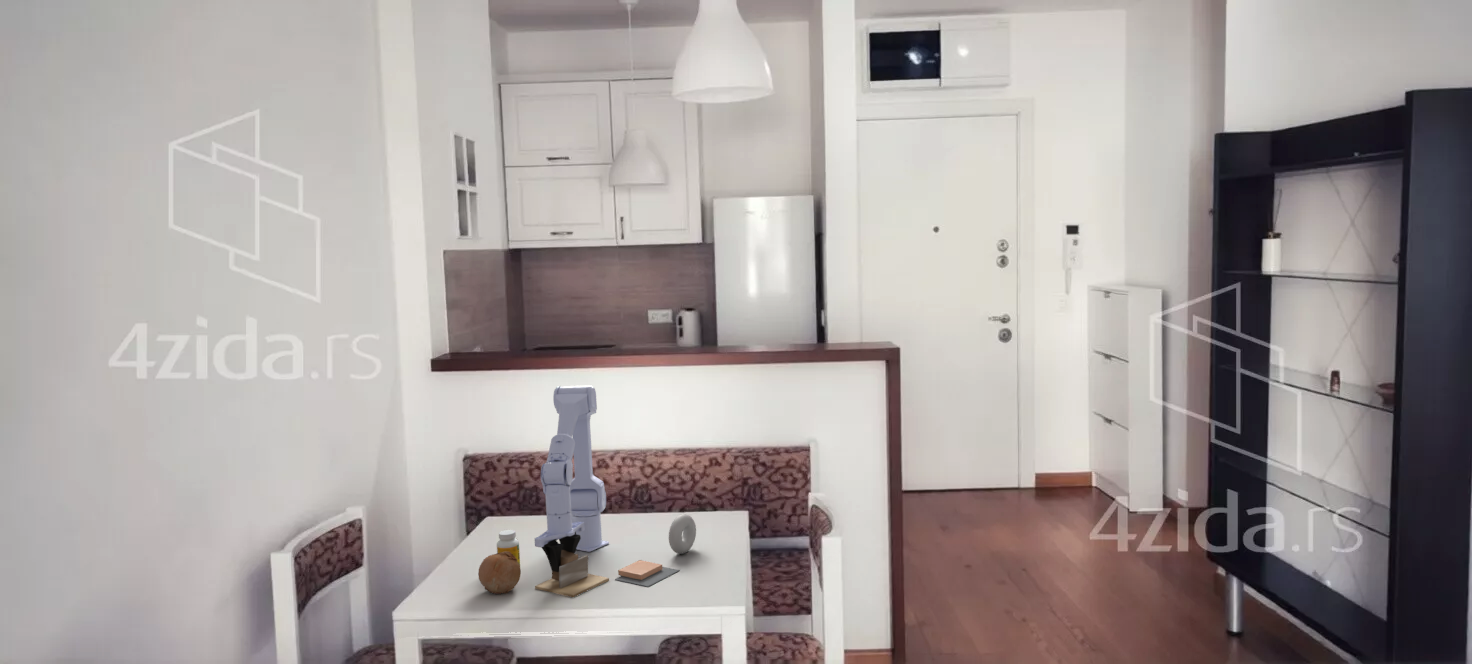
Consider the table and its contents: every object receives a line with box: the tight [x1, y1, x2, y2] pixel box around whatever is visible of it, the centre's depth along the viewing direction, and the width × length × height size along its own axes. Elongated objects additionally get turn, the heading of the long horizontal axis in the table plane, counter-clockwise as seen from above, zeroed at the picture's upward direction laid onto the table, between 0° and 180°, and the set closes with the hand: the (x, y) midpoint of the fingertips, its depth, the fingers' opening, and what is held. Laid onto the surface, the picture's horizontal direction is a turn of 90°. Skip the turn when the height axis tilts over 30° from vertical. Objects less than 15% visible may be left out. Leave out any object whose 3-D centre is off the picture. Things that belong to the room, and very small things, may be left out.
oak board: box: [534, 573, 610, 598], centre depth 214 cm, size 12×12×1 cm
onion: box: [478, 551, 522, 595], centre depth 211 cm, size 10×9×10 cm
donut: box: [668, 513, 697, 555], centre depth 233 cm, size 10×3×10 cm, turn 150°
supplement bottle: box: [496, 529, 521, 566], centre depth 225 cm, size 5×5×10 cm
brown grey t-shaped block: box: [551, 550, 589, 588], centre depth 215 cm, size 6×9×6 cm, turn 147°
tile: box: [617, 559, 663, 580], centre depth 220 cm, size 1×8×7 cm
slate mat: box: [614, 566, 680, 588], centre depth 218 cm, size 10×12×1 cm
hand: (562, 568), depth 216 cm, fingers closed on brown grey t-shaped block, 3 cm apart
